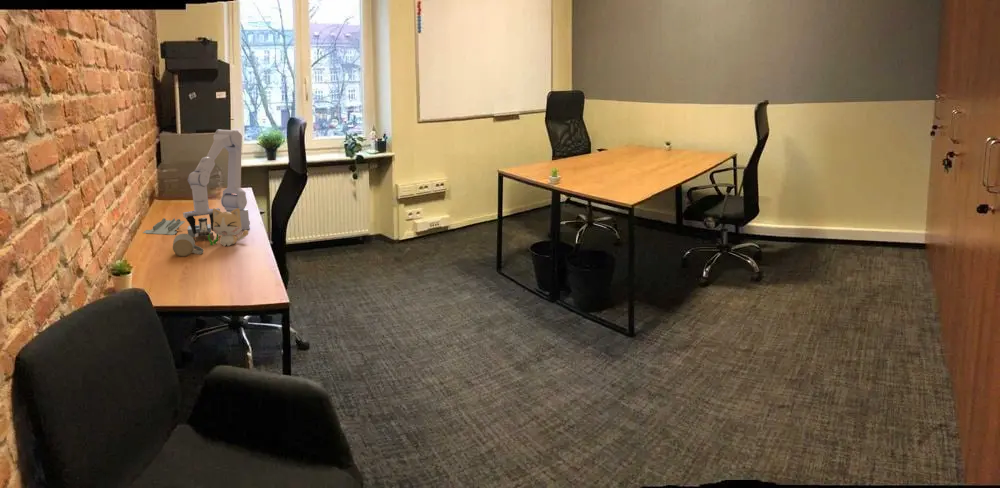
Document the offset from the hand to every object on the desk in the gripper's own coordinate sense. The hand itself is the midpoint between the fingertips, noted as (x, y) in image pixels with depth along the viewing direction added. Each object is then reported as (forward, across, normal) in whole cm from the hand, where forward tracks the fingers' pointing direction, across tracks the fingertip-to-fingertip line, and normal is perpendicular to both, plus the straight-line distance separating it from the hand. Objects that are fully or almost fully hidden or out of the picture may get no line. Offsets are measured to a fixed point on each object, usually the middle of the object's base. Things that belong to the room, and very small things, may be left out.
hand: (203, 232), depth 294 cm
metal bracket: (+4, +8, -25) cm, 26 cm away
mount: (+3, 0, 0) cm, 3 cm away
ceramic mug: (+3, +13, +21) cm, 25 cm away
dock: (+3, -1, -9) cm, 9 cm away
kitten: (+3, -4, +16) cm, 17 cm away
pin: (+3, 0, 0) cm, 3 cm away
